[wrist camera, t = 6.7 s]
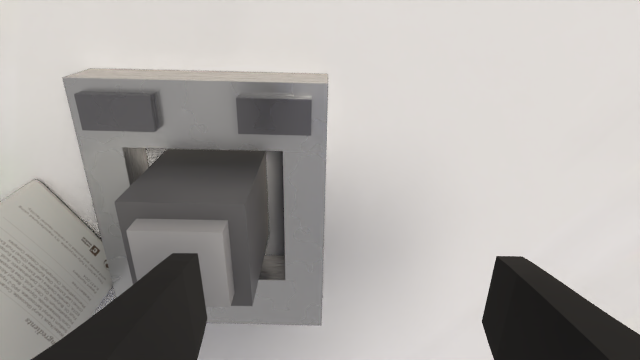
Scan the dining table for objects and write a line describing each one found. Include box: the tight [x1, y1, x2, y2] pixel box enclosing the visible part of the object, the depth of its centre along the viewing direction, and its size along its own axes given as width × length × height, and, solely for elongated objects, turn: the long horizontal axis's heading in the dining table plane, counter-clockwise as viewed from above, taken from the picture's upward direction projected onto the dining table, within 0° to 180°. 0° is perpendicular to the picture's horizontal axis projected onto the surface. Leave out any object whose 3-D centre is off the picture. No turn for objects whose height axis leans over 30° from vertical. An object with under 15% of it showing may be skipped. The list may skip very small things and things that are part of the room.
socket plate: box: [62, 68, 328, 325], centre depth 18 cm, size 12×10×2 cm
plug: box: [114, 149, 269, 307], centre depth 17 cm, size 4×4×6 cm
